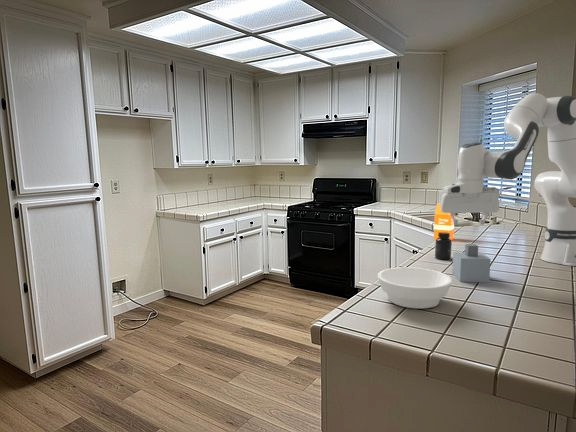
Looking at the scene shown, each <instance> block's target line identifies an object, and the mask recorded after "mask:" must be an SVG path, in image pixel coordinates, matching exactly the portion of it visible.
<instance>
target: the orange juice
mask: <svg viewBox="0 0 576 432" xmlns="http://www.w3.org/2000/svg"><path fill="white" fill-rule="evenodd" d="M433 223H434V225H433V240H434V241H436V239H437V238H439V237H438V232H448V233H450V237H449V238H450V239H451V241H452V240H454V234H455V233H454V231H455V225H453V220H452V218H451V216H450V213H443V212H442V211H441V210H440V203H436V206H435V210H434V221H433Z"/></svg>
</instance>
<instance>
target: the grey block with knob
mask: <svg viewBox="0 0 576 432" xmlns="http://www.w3.org/2000/svg"><path fill="white" fill-rule="evenodd" d="M451 272H452V276H453V277H455V278H456V279H457V280H458V281H459V282H462V283H490V278H491V277H490V276H491V275H490V273H491V258H490V257H488V256H486V255H485V254H484V253H482V252H479V246H478V245H477V244H476V243H465V246H464V251H462V252H461V251H459V252H458V251H453V252H452V269H451Z"/></svg>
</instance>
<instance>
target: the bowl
mask: <svg viewBox="0 0 576 432" xmlns="http://www.w3.org/2000/svg"><path fill="white" fill-rule="evenodd" d="M377 279H378V281H379V285H380V287H381V289H382V291H383V292H384V293H386V295H387V297H388V300H389V301H390V302H391V303H393V304H394V305H397V306H399V307H404V308H409V309H429V308H434V307H436V306H438V305H439V303H440V301H441V299H442V298H444V297H445V296H447V294H448V292H449V290H450V289H451V285H452V284H453V279H452V277H451V276H449V275H448V274H446V273H444V272H441V271H437V270H433V269H429V268H423V267H422V268H421V267H413V266H412V267H410V266H408V267H403V266H402V267H401V266H400V267H391V268H386V269H383V270H381V271H379V272H378V273H377Z"/></svg>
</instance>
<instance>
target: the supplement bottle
mask: <svg viewBox="0 0 576 432" xmlns="http://www.w3.org/2000/svg"><path fill="white" fill-rule="evenodd" d="M438 237H439V238H437V239H436V240H435V249H434V252H435V253H434V258H435V259H436V260H441V261H449V260H451V259H452V246H453V245H452V240H451V239H450V238H449V237H450V233H448V232H438Z"/></svg>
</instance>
